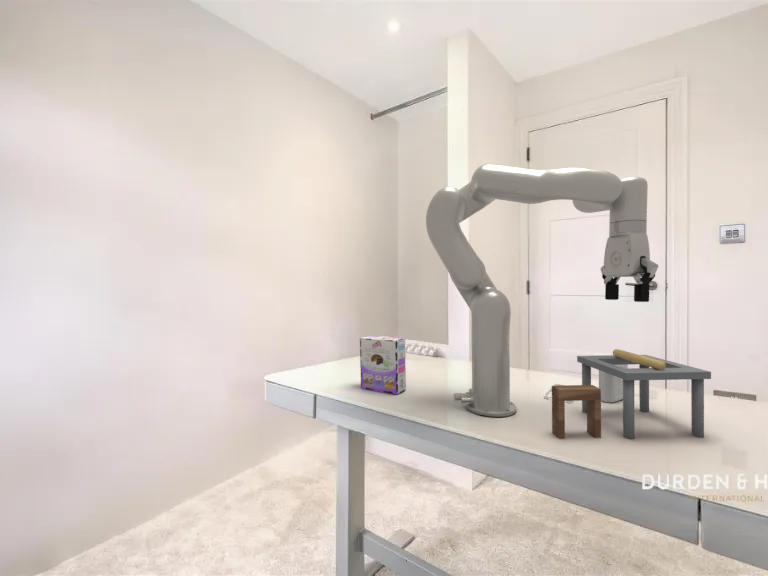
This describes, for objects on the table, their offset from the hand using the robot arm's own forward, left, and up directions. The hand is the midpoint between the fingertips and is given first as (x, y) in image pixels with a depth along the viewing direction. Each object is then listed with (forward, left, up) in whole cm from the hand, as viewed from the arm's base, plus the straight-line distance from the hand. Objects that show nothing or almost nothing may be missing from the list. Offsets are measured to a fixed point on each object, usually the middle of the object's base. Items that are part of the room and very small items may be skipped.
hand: (625, 300), depth 86 cm
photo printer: (+6, +13, -29) cm, 32 cm away
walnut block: (-18, -10, -29) cm, 35 cm away
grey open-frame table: (0, -4, -29) cm, 29 cm away
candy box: (-59, +26, -29) cm, 71 cm away
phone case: (-6, +18, -29) cm, 35 cm away
